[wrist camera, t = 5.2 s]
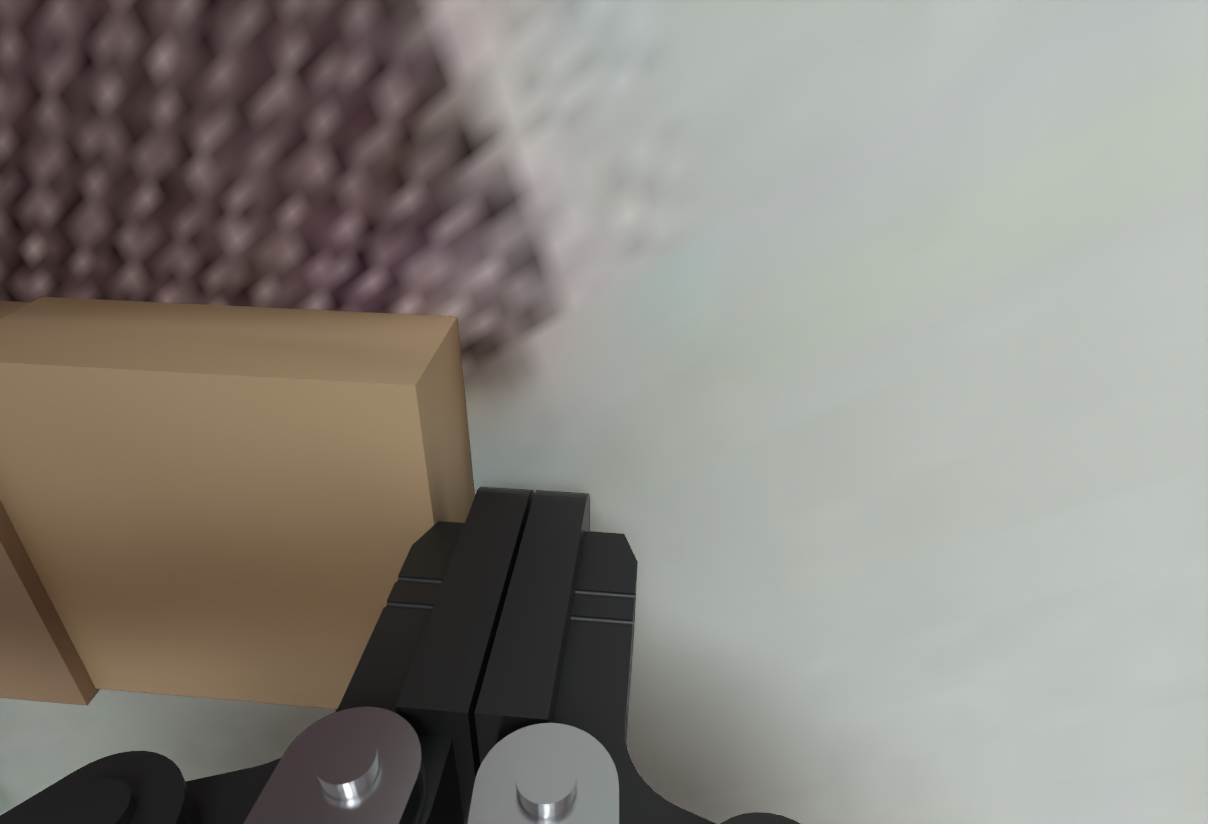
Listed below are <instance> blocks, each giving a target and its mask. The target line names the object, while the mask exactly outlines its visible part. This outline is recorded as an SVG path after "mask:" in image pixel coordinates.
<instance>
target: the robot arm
mask: <svg viewBox="0 0 1208 824" xmlns="http://www.w3.org/2000/svg"><path fill="white" fill-rule="evenodd" d="M636 581H637V560H636V558H635V556H634V554H633V552H632V550H631V548H630V545H629V543H628V541H627V539H626V537H625V535H624V534H617V533H603V532H590V496H589V494H586V493H572V492H557V491H542V490H536V492H535V493H534V491H533V490H524V489H509V488H494V487H480V488H479V489H478V491H477V493H476V495H475V498H474V500H473V503H472V506H471V508H470V511H469V513H468V516H467V519H466V521H465V523H458V522H444V521H438V522H437V523H436V524H435V525H434V526H432V527H431V528H430V529H429V530H428V531H427V532H426V533H425V534H424V535H423V536H422V537H421V538H419V539H418V540H417V541H416V542H415V543H414V544H413V545H412V546H411V548H410V550H409V553H408V555H407V557H406V559H405V561H404V564H403V566H402V568H401V570H400V573H399V575H398V581H397V582H395V584H394V586H393V588H392V590H391V592H390V595H389V597H388V599H387V605H386V607H384V608H383V610H382V612H381V614H380V617H379V619H378V621H377V623H376V625H375V628H374V630H373V632H372V634H371V637H370V639H369V641H368V643H367V645H366V648H365V650H364V652H363V654H362V656H361V659H360V661H359V663H358V665H357V667H356V670H355V672H354V674H353V676H352V678H351V681H350V683H349V685H348V687H347V689H346V692H345V694H344V696H343V698H342V701H341V703H340V705H339V706H338V708H337V710H336V712H335V713H333V714H330V715H328V716H326V717H324V718H322V719H320V720H319V721H317V722H316V723H314V724H313V725H311V726H309V727H308V728H307V729H306V730H305V731H303V732H302V733H301V734H300V735H299V736H298V737H297V738H296V739H295V740H294V741H293V742H292V743H291V745H290V746H289V747H288V749H287V750H286V752H285V753H284V754H283V756H282V758H280V759H277V760H275V761H272V762H270V763H267V764H264V765H260V766H256V767H252V768H248V769H243V770H238V771H234V772H229V773H224V774H220V775H215V776H210V777H205V778H201V779H196V780H191V781H187V782H185V780H184V778H183V776H182V774H181V772H180V769H179V768H178V767H177V766H176V764H175V763H174V762H173V761H171V760H170V759H168V758H167V757H165V756H163V755H160V754H158V753H154V752H147V751H130V752H123V753H118V754H114V755H111V756H107V757H104V758H101V759H99V760H97V761H94V762H92V763H89V764H87V765H86V766H84V767H82V768H80V769H78V770H76V771H74V772H73V773H71V774H69V775H68V776H66V777H64V778H63V779H61V780H59V781H58V782H56V783H54V784H53V785H51V786H49V787H48V788H46V789H44V790H43V791H41V792H39V793H38V794H36V795H34V796H33V797H31V798H29V799H28V800H26V801H24V802H23V803H21V804H19V805H18V806H16V807H14V808H13V809H11V810H9V811H8V812H6V813H4V814H3V815H1V816H0V824H715V823H713V822H711V821H709V820H706V819H704V818H702V817H700V816H697V815H695V814H693V813H691V812H688V811H686V810H684V809H682V808H679V807H677V806H676V805H674V804H672V803H670V802H668V801H666V800H665V799H664V798H662V797H661V796H659V795H658V794H657V793H655V792H654V791H653V790H652V789H651V788H650V787H649V786H648V785H647V784H646V783H645V782H644V780H643V779H642V778H641V777H640V775H639V774H638V773H637V771H636V769H635V767H634V765H633V764H632V762H631V759H630V756H629V754H628V751H627V746H626V737H627V723H628V709H629V695H630V682H631V668H632V654H633V640H634V621H635V601H636ZM721 824H800V823H798V822H796V821H794V820H792V819H789V818H786V817H784V816H780V815H776V814H771V813H757V812H755V813H747V814H741V815H738V816H735V817H732V818H730V819H728V820H726V821H724V822H722V823H721Z"/></svg>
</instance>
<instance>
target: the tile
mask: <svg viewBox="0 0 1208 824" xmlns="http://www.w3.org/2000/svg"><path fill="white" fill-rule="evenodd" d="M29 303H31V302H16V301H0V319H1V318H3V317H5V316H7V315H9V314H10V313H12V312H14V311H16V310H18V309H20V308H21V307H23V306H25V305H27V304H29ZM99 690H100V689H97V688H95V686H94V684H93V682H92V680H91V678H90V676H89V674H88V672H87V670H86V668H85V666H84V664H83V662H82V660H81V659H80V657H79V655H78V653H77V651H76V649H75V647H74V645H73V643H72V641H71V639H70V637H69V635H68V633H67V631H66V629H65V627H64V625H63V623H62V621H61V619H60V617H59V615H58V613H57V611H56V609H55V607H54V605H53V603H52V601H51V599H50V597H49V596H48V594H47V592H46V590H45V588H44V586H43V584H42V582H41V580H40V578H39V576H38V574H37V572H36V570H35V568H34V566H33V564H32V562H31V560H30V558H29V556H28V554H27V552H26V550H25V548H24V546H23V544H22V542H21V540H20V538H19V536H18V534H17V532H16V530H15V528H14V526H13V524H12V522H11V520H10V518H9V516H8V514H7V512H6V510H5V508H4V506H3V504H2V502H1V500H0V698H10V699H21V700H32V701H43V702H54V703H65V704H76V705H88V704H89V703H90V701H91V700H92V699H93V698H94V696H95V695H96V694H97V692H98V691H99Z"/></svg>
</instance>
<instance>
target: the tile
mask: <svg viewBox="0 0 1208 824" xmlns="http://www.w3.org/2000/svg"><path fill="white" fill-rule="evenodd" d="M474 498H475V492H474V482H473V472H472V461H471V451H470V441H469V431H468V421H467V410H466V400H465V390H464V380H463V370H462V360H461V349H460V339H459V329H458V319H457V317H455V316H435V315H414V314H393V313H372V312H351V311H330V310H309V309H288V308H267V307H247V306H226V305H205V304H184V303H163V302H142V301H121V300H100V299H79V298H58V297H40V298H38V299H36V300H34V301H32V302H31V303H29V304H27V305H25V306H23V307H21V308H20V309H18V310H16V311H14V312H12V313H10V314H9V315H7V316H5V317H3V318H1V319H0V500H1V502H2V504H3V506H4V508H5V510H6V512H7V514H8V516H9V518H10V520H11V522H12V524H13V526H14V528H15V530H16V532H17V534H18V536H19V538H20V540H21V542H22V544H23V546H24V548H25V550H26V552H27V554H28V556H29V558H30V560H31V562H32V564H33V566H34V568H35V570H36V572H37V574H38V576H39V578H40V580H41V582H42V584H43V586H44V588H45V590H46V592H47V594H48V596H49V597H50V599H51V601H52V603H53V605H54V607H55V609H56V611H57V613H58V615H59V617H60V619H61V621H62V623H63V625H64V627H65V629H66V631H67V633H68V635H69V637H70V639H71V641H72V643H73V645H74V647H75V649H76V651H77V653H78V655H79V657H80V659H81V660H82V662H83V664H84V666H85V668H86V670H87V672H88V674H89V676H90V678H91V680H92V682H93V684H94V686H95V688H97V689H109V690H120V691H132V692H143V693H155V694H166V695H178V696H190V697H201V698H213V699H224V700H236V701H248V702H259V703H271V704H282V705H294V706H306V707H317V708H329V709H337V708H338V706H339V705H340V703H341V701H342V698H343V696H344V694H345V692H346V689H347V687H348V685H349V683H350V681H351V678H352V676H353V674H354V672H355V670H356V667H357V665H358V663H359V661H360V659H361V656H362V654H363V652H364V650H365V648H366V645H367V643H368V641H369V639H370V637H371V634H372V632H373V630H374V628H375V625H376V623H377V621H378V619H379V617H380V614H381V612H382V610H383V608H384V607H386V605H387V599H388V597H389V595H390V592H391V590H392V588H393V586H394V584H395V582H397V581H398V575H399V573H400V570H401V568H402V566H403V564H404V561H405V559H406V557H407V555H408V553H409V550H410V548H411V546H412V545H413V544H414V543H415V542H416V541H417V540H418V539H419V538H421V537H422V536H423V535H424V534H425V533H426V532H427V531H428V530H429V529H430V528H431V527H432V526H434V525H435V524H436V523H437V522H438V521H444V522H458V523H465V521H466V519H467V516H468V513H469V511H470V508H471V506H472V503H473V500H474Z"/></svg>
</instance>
